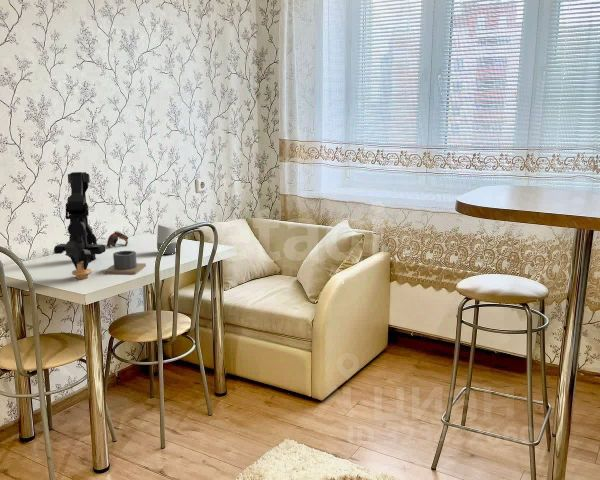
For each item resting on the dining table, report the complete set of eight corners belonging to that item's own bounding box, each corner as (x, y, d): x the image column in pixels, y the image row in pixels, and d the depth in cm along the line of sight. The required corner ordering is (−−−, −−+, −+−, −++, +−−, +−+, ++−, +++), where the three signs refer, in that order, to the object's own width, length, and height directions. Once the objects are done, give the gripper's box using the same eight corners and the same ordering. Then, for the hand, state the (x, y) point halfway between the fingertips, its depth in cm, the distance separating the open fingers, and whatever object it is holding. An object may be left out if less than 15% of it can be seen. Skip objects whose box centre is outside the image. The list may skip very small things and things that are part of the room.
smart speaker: (180, 254, 276) (178, 224, 273) (160, 256, 272) (158, 226, 268) (174, 250, 284) (173, 221, 281) (155, 252, 280) (153, 223, 277)
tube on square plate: (104, 273, 243) (103, 256, 242) (116, 265, 256) (115, 249, 254) (135, 274, 242) (134, 257, 241) (145, 266, 255) (145, 249, 253)
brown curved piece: (108, 245, 297) (116, 230, 297) (125, 253, 297) (132, 238, 297) (100, 244, 285) (108, 228, 285) (117, 253, 285) (126, 237, 285)
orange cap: (69, 280, 234) (68, 264, 233) (77, 275, 241) (76, 260, 240) (87, 280, 234) (85, 265, 232) (94, 275, 241) (93, 260, 239)
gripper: (45, 235, 226) (49, 275, 230) (93, 236, 225) (96, 276, 228) (59, 229, 237) (62, 267, 240) (104, 230, 236) (107, 268, 239)
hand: (81, 270), depth 237 cm, fingers open, 3 cm apart
